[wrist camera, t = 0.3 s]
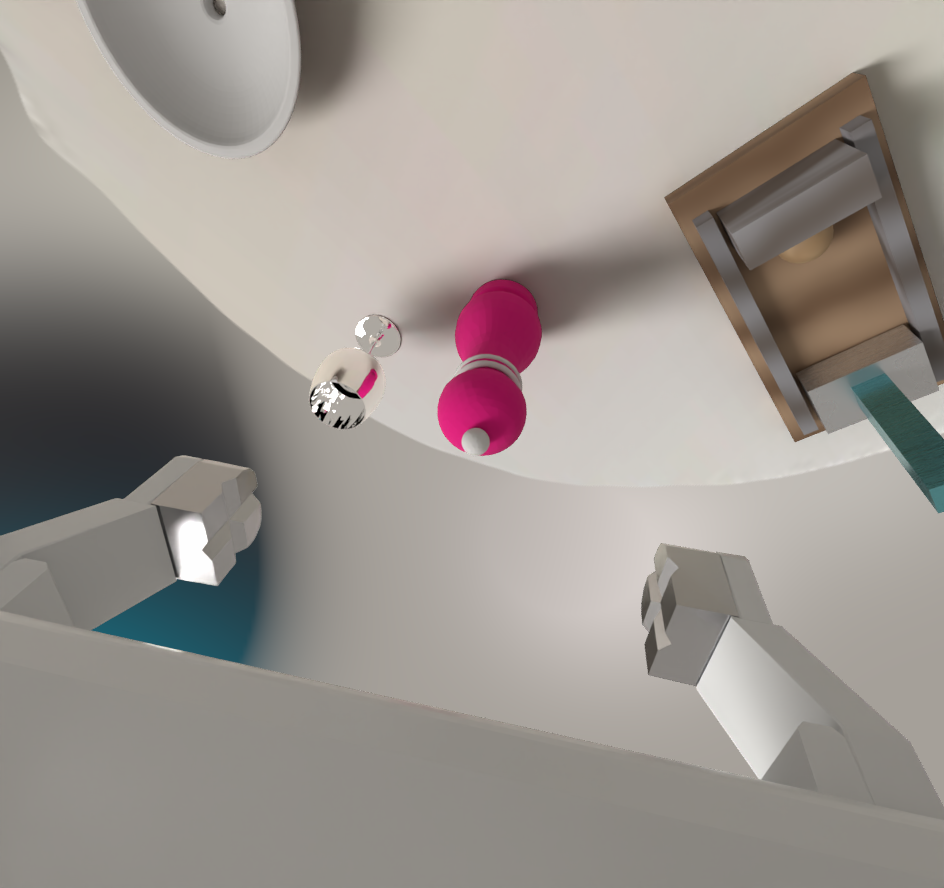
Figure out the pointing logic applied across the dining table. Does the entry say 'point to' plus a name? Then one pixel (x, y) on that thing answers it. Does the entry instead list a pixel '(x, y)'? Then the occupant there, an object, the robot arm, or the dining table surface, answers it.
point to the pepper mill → (490, 369)
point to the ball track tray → (811, 244)
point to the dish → (205, 67)
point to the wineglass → (354, 376)
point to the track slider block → (883, 401)
